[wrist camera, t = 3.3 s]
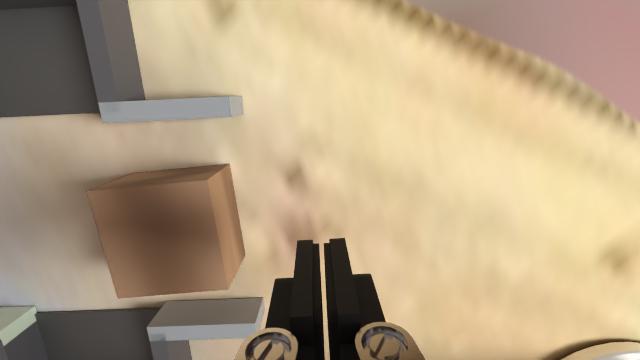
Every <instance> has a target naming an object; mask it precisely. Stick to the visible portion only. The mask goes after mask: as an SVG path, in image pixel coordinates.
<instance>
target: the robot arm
mask: <svg viewBox="0 0 640 360" xmlns="http://www.w3.org/2000/svg"><path fill="white" fill-rule="evenodd" d="M329 241H330V243H324V259H325V279H326V299H327V319H328V335H329V351H330V360H425V358H424V356H423V355H422V353H421V351H420V350H419V348H418V346H417V345H416V343H415V341H414V340H413V338H412V337H411V336H410V334H409V333H408V332H407V331H406V330H404V329H403V328H401V327H400V326H397V325H395V324H392V323H387V322H386V321H385V318H384V315H383V312H382V308H381V305H380V302H379V299H378V295H377V292H376V289H375V286H374V283H373V279H372V276H371V274H354V275H352V270H351V266H350V261H349V256H348V251H347V247H346V242H345V238H338V239H330V240H329ZM234 360H325V358H324V334H323V311H322V292H321V273H320V255H319V244H313V240H300V241H297V250H296V260H295V269H294V278H279V279H275V282H274V287H273V292H272V297H271V302H270V307H269V312H268V317H267V322H266V327H265V329H263V330H259V331H257V332H255V333H254V334H252V335H250V336H249V337H248V338H247V339H246V340H245V341H244V342H243V344H242V345H241V347H240V349H239V351H238V353H237V355H236V357H235V359H234ZM561 360H640V343H636V342H611V343H606V344H600V345H595V346H591V347H588V348H585V349H582V350H580V351H577V352H574V353H572V354H571V355H569V356H567V357H565V358H563V359H561Z"/></svg>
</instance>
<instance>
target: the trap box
mask: <svg viewBox="0 0 640 360" xmlns="http://www.w3.org/2000/svg"><path fill="white" fill-rule="evenodd" d="M99 112H100V113H101V118H102V123H118V122H138V121H159V120H180V119H200V118H221V117H234V116H238V115H243V104H242V96H223V97H203V98H183V99H163V100H145V96H144V90H143V85H142V79H141V74H140V68H139V62H138V57H137V51H136V46H135V40H134V35H133V29H132V23H131V18H130V12H129V7H128V1H127V0H0V117H17V116H38V115H58V114H78V113H99ZM263 314H264V303H263V298H240V299H213V300H185V301H166V303H165V304H164V305H163V306H162V308H144V309H117V310H89V311H62V312H37V311H36V308H35V306H22V307H0V360H192V357H191V352H190V346H189V341H188V340H202V339H231V338H248V337H249V336H250V335H252V334H254V333H255V332H257V331H259V328H260V325H261V321H262V317H263Z"/></svg>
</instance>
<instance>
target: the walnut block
mask: <svg viewBox="0 0 640 360" xmlns="http://www.w3.org/2000/svg"><path fill="white" fill-rule="evenodd" d="M86 192H87V195H88V199H89V202H90V205H91V209H92V212H93V216H94V219H95V222H96V226H97V229H98V233H99V236H100V239H101V243H102V246H103V250H104V253H105V257H106V260H107V263H108V267H109V270H110V274H111V277H112V280H113V284H114V287H115V291H116V294H117V297H118V298H129V297H141V296H154V295H166V294H178V293H190V292H203V291H215V290H227V289H229V287H230V285H231V283H232V281H233V279H234V277H235V275H236V273H237V271H238V269H239V267H240V265H241V263H242V261H243V259H244V257H245V250H244V244H243V238H242V232H241V227H240V221H239V215H238V209H237V203H236V198H235V192H234V186H233V180H232V174H231V169H230V164H223V165H213V166H202V167H192V168H181V169H171V170H160V171H150V172H139V173H131V174H128V175H126V176H123V177H121V178H118V179H116V180H113V181H111V182H108V183H106V184H104V185H101V186H99V187H96V188H94V189H91V190H89V191H86Z"/></svg>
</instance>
